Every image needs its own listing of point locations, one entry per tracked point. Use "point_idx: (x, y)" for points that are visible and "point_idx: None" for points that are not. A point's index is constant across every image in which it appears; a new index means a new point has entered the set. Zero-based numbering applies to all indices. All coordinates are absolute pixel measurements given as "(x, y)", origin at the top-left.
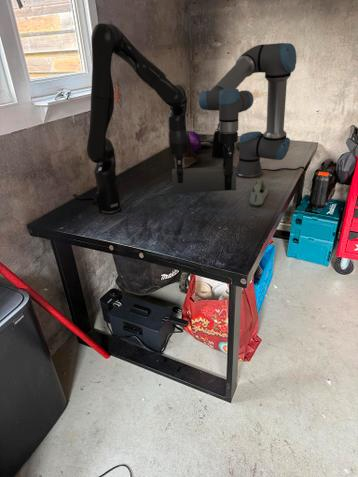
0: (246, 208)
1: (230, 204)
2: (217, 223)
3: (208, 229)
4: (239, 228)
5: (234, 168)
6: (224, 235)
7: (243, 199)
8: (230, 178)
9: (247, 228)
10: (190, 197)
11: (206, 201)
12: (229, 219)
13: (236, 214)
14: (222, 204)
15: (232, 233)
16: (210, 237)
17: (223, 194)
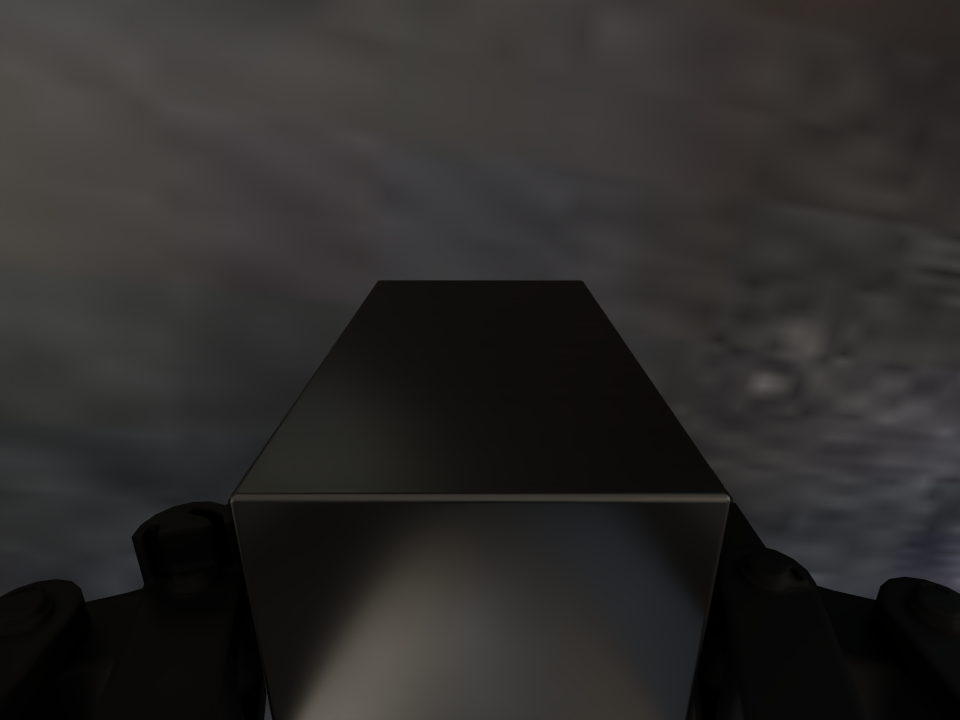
0: (393, 57)
1: (282, 227)
2: (685, 393)
3: (771, 467)
4: (833, 215)
5: (556, 545)
6: (910, 360)
7: (130, 47)
8: (749, 527)
9: (858, 136)
10: (133, 566)
11: (215, 447)
12: (631, 283)
13: (533, 199)
14: (283, 309)
15: (902, 292)
16: (901, 462)
17: (10, 269)
